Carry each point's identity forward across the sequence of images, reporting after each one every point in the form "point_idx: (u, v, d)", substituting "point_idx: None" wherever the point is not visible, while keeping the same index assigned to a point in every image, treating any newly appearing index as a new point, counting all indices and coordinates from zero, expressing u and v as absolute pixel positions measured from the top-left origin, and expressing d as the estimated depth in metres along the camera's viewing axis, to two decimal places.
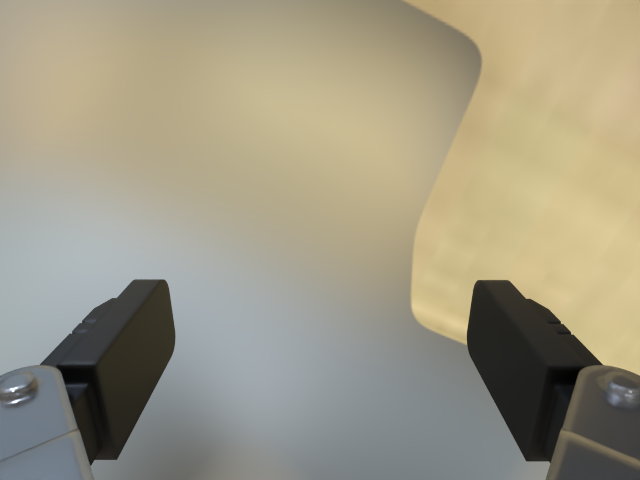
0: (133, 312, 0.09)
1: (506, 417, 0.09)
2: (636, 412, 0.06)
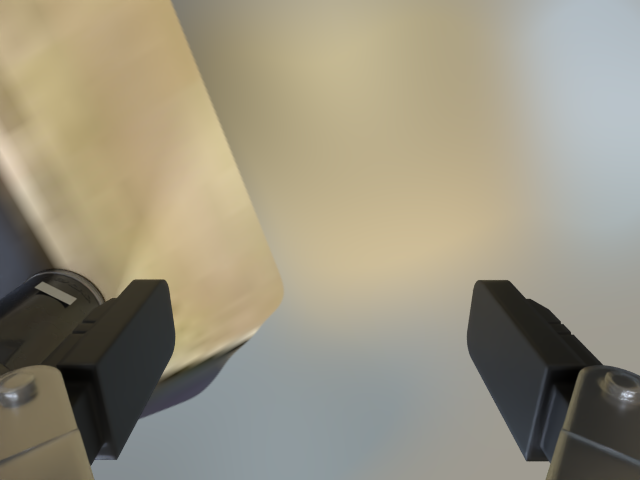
0: (133, 312, 0.09)
1: (505, 417, 0.09)
2: (636, 412, 0.06)
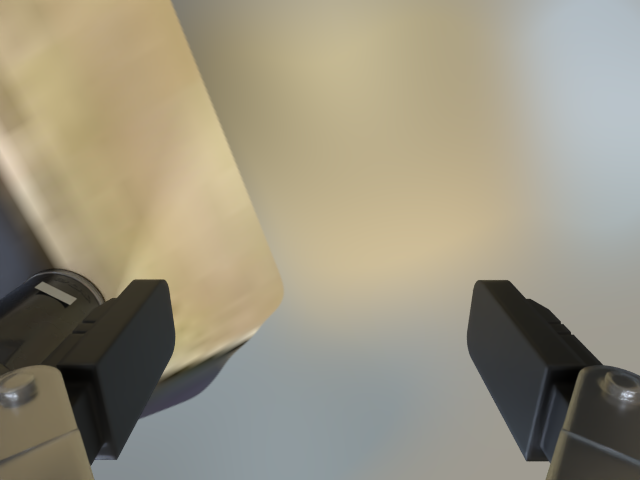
0: (133, 312, 0.09)
1: (505, 417, 0.09)
2: (636, 412, 0.06)
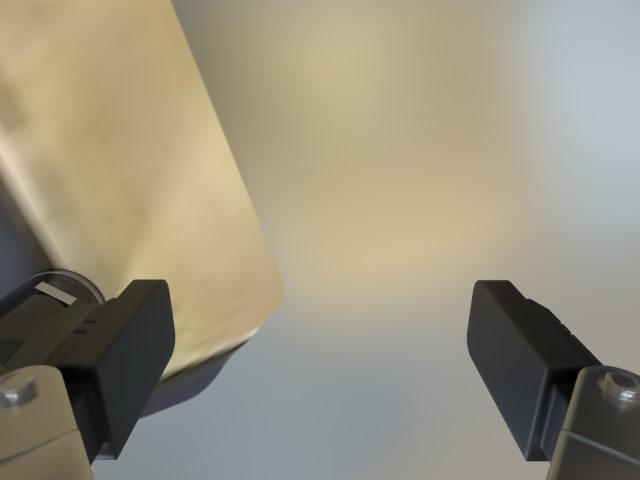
0: (133, 312, 0.09)
1: (505, 417, 0.09)
2: (636, 412, 0.06)
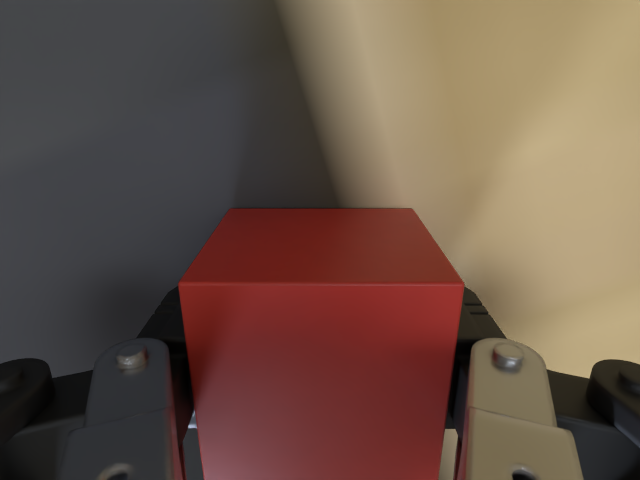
0: None
1: None
2: (512, 376, 0.07)
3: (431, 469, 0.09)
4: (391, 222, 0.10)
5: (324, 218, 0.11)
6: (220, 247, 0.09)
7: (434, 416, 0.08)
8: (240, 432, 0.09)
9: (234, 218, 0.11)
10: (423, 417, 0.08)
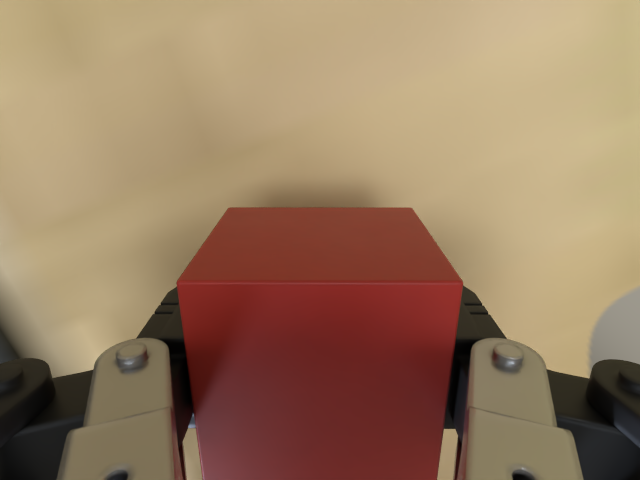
0: None
1: None
2: (512, 376, 0.07)
3: (430, 468, 0.09)
4: (390, 221, 0.10)
5: (323, 217, 0.11)
6: (219, 246, 0.09)
7: (433, 415, 0.08)
8: (239, 431, 0.09)
9: (232, 218, 0.11)
10: (423, 416, 0.08)
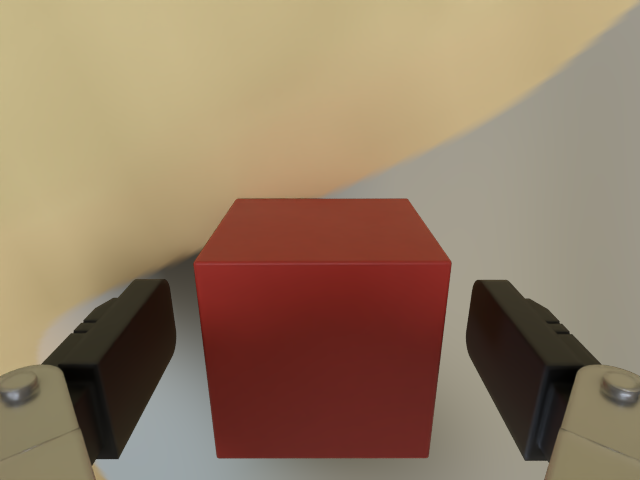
0: (134, 312, 0.09)
1: (504, 417, 0.09)
2: (634, 412, 0.06)
3: (423, 435, 0.10)
4: (387, 210, 0.11)
5: (325, 207, 0.12)
6: (230, 232, 0.10)
7: (425, 385, 0.09)
8: (249, 400, 0.09)
9: (240, 208, 0.11)
10: (416, 385, 0.09)
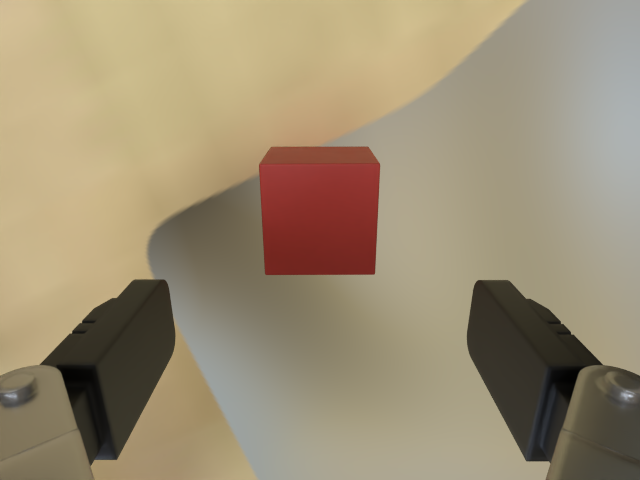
0: (133, 312, 0.09)
1: (505, 417, 0.09)
2: (636, 412, 0.06)
3: (371, 259, 0.19)
4: (355, 150, 0.21)
5: (321, 149, 0.21)
6: (272, 156, 0.19)
7: (370, 230, 0.19)
8: (283, 239, 0.19)
9: (275, 150, 0.21)
10: (366, 230, 0.19)
